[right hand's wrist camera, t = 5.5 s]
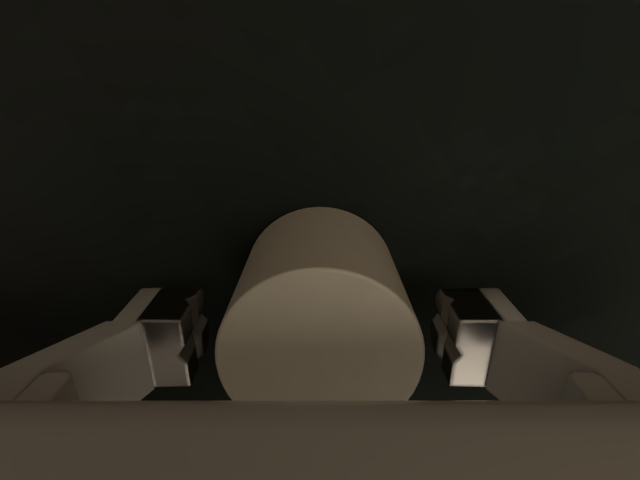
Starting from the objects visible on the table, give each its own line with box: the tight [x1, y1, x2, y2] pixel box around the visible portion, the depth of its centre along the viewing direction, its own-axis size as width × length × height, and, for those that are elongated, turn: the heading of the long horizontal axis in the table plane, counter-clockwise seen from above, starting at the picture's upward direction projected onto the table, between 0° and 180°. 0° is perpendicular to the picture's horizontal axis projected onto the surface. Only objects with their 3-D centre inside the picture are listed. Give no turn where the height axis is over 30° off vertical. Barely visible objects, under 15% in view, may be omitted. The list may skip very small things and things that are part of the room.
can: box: [215, 207, 425, 401], centre depth 10 cm, size 4×4×4 cm
